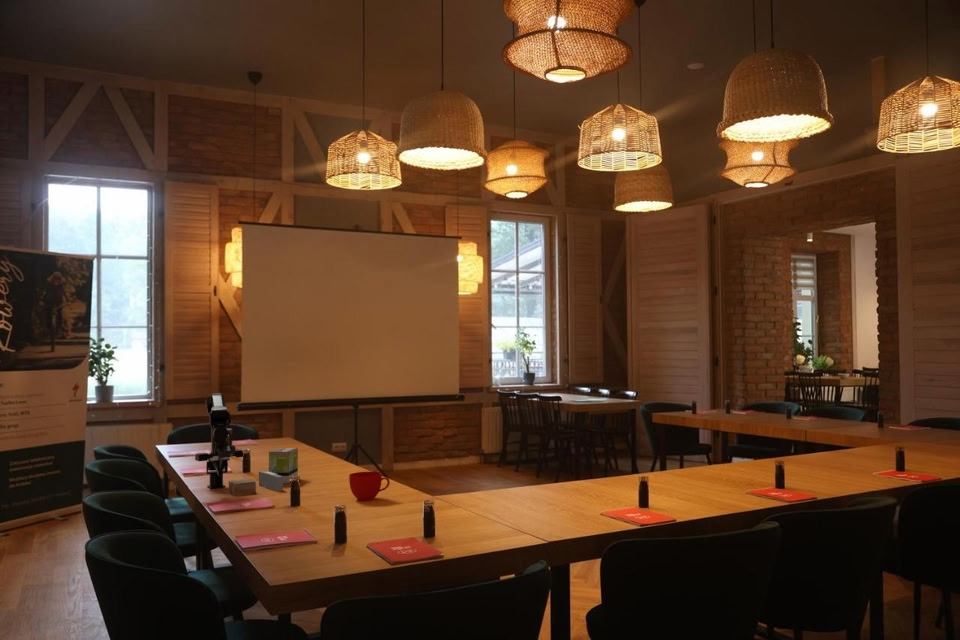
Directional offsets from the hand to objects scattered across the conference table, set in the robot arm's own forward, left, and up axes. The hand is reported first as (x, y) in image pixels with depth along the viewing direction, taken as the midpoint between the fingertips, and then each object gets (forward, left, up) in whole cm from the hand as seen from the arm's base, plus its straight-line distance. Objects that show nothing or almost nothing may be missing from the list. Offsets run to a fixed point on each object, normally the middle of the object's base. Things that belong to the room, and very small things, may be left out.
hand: (219, 475), depth 321 cm
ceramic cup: (+53, +42, -8) cm, 69 cm away
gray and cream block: (-3, +23, -8) cm, 25 cm away
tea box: (-16, +34, -8) cm, 39 cm away
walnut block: (0, +9, -8) cm, 13 cm away
